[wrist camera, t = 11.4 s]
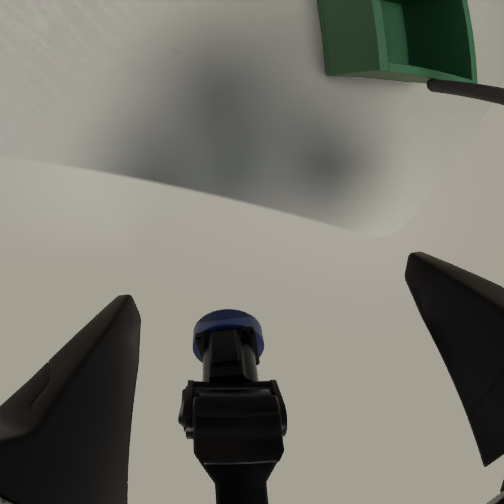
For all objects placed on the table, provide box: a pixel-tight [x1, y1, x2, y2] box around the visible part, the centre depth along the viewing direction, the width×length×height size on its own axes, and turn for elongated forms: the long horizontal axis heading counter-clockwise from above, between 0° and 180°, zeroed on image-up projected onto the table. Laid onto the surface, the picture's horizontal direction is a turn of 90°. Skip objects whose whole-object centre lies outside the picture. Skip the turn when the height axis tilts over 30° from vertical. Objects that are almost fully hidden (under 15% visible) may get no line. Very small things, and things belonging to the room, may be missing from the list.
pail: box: [317, 0, 504, 105], centre depth 9 cm, size 14×8×7 cm
